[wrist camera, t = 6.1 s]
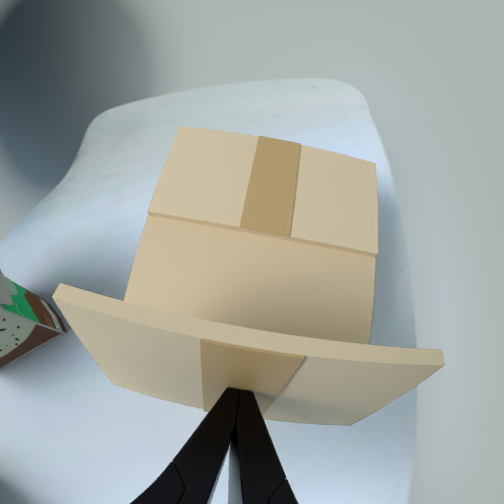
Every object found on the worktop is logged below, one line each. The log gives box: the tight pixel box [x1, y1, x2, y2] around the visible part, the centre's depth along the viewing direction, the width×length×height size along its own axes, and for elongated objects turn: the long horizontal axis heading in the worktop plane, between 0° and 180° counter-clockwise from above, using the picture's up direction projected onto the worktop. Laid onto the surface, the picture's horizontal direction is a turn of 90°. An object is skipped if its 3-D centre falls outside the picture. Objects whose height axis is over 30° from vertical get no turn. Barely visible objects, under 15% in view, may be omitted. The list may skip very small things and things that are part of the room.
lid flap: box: [52, 283, 445, 425], centre depth 9 cm, size 7×11×1 cm
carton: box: [124, 126, 378, 345], centre depth 17 cm, size 14×12×7 cm
